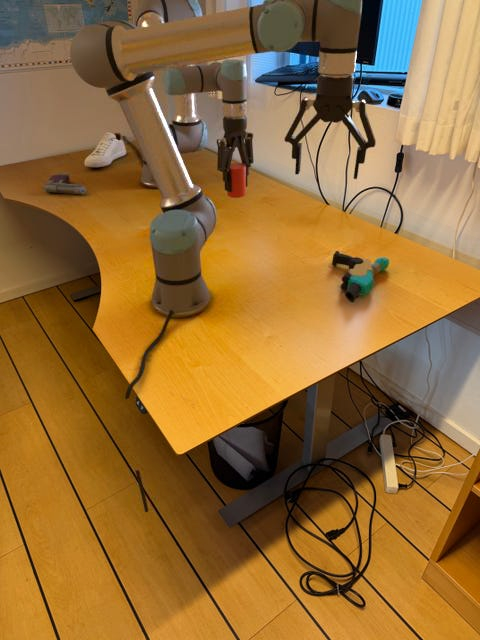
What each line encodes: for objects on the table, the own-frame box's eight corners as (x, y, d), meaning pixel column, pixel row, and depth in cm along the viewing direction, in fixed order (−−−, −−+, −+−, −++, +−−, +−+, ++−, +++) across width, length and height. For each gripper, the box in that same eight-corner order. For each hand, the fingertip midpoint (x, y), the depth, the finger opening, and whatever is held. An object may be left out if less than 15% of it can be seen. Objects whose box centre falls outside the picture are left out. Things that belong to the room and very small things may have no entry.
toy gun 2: (311, 281, 124) (367, 296, 118) (342, 242, 143) (392, 253, 137) (309, 296, 127) (365, 311, 121) (340, 255, 145) (389, 267, 139)
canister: (243, 190, 166) (242, 162, 160) (247, 196, 161) (247, 167, 155) (225, 192, 165) (224, 163, 159) (229, 198, 160) (228, 169, 154)
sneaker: (78, 170, 212) (72, 142, 204) (110, 151, 234) (106, 126, 226) (99, 172, 209) (94, 144, 202) (129, 153, 231) (126, 127, 224)
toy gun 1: (99, 183, 198) (82, 197, 186) (58, 181, 201) (39, 194, 189) (97, 174, 195) (80, 188, 184) (55, 172, 199) (36, 184, 187)
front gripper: (397, 73, 100) (381, 173, 112) (280, 70, 105) (277, 165, 118) (397, 79, 94) (380, 184, 106) (273, 75, 99) (271, 175, 112)
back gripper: (218, 123, 141) (221, 198, 154) (265, 113, 151) (264, 184, 165) (202, 119, 146) (206, 192, 159) (249, 109, 156) (250, 178, 169)
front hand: (326, 174), depth 112 cm, fingers open, 13 cm apart
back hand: (236, 188), depth 162 cm, fingers closed on canister, 6 cm apart
